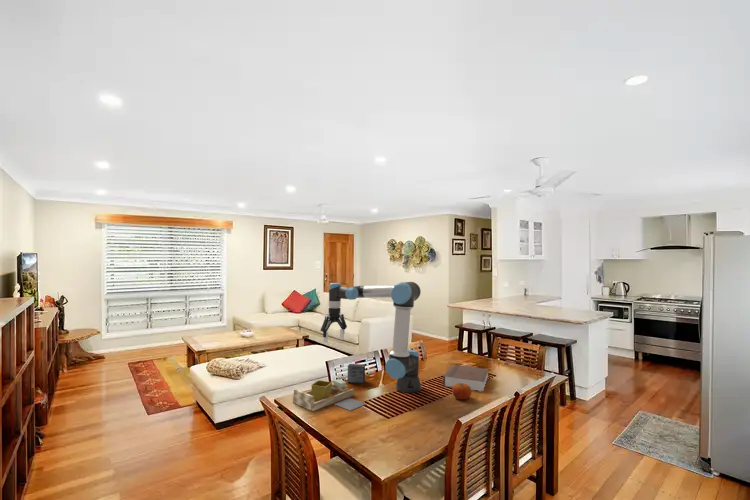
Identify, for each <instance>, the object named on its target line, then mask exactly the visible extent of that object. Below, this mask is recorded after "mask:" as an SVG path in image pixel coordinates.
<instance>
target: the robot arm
mask: <svg viewBox="0 0 750 500" xmlns="http://www.w3.org/2000/svg"><path fill="white" fill-rule="evenodd" d="M421 292H422V291H421V287H420V285H419V284H417V283H416V282H414V281H401V282H399V283H396V284H387V285H384V284H383V285H357V286H356V285H355V286H342V284H341V283H339V282H330V283H329V287H328V315H325V316H324V320H323V323H322V325H321V328H320V332H322V337H323V343H325V344H328V340H329V339H328V334H329V333H328V331H329V330H330V327H331V326H332V325H333V323H337V324H338V325H339V327H340V329H339V339H340V340H344V335H345V330H346V329H347V328H348V325H347V323H346V319H345V316H344V314H343V313H341V302H342V301H341V299H343V300H351V301H353V300H357V299H360V298H361V299H362V298H364V299H365V298H391V299H392V302H393V307H394V308H395V310H394V311H395V313H394V324H393V325H394V326H393V336H392V337H393V338H392V350H390V352H389V357H388V360H386V362H385V372H386V373H387V375H388V376H389V377H390V378H392V379H395V380H397V381H396V384H395V389H396V390H398V391H399V392H402V393H408V394H413V393H418V392H420V391H421V390H422V384H421V381H420V377H419V367H420V366H419V365H420V356H419V355H420V353H419V351H417V350H415V349H409V348H408V347H409V337H410V336H409V334H410V322H411V312H412V311H411V310H412V309H413V308H414V304H415V301H416V300H418V299H419V297H420V296H421Z"/></svg>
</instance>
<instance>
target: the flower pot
mask: <svg viewBox="0 0 750 500" xmlns="http://www.w3.org/2000/svg"><path fill="white" fill-rule="evenodd" d="M332 383H333V381H327V380H319V379H318V380H317V381H315V382H313V383H312V384H311V387H310V388H311V390H312V395H313V396H314V401H315V402H317V401H320V400H323V399H325V398H328V397H330V395H331V387H332Z"/></svg>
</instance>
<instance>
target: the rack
mask: <svg viewBox="0 0 750 500" xmlns="http://www.w3.org/2000/svg"><path fill="white" fill-rule="evenodd" d="M354 396H355V389H354V388H351V389H348V391H345V392H342V393H339V394H337V395H336V394H334V395H332V396H329V397H328V398H325V399H323V400H320V401H315V399H314V396H313V395H312V389H311V390H307V391H301V390H298V389H295V388H294V389H293V395H292V403H293V404H296V405H298V406H300V407H302V408H304V409H307V410H309V411H312V412H314V411H317V410H319V409H323V408H325V407H328V406H330V405H332V404H333V405H334V404H336V403H338V402H341V401H343V400H346V399H349V398H351V397H354Z"/></svg>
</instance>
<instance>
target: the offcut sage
mask: <svg viewBox="0 0 750 500" xmlns="http://www.w3.org/2000/svg"><path fill="white" fill-rule="evenodd" d="M332 383H333V384H334V385H337V386H339V387H343V386H346V385H347V382H346V381H345V380H342V379H334V380H333V381H332Z"/></svg>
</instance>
